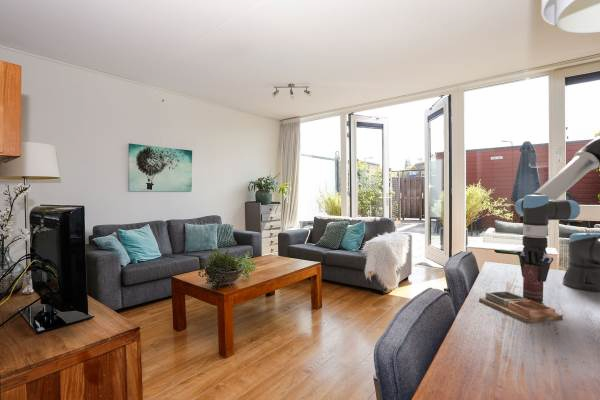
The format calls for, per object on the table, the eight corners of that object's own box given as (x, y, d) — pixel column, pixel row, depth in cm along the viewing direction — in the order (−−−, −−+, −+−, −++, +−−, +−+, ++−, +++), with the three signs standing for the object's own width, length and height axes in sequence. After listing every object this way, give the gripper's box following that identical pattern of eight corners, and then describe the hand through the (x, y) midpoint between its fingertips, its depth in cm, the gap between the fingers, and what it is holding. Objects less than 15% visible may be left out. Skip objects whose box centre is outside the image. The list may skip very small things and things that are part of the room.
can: (547, 304, 117) (548, 266, 117) (527, 303, 119) (528, 265, 118) (538, 298, 123) (539, 262, 123) (519, 297, 125) (520, 261, 124)
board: (510, 298, 124) (510, 290, 124) (562, 319, 104) (562, 309, 104) (479, 300, 121) (479, 292, 121) (526, 322, 101) (526, 312, 101)
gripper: (511, 233, 126) (509, 293, 127) (543, 239, 113) (541, 305, 114) (527, 233, 127) (525, 292, 128) (560, 238, 114) (558, 303, 115)
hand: (533, 298), depth 121 cm, fingers closed
